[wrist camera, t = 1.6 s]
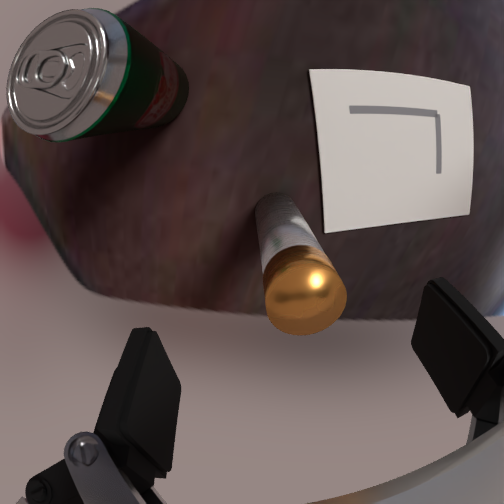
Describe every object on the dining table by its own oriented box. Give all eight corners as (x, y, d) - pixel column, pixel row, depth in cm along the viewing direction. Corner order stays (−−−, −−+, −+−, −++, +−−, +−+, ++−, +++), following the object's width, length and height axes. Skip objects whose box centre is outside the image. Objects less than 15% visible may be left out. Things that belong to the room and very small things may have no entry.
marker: (295, 189, 20) (348, 262, 10) (298, 229, 21) (344, 328, 11) (251, 195, 20) (261, 275, 10) (257, 235, 21) (270, 340, 11)
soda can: (177, 135, 18) (90, 158, 7) (113, 121, 17) (-11, 138, 6) (200, 67, 16) (143, -3, 5) (134, 55, 15) (26, 7, 4)
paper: (468, 86, 15) (469, 86, 15) (468, 213, 21) (469, 214, 20) (308, 70, 16) (309, 69, 16) (324, 231, 21) (324, 233, 21)
